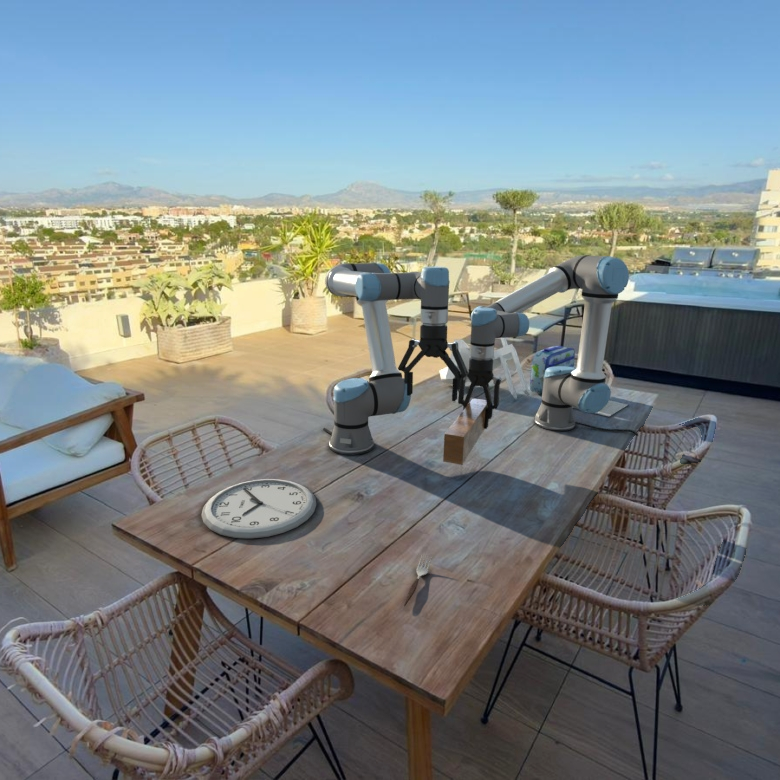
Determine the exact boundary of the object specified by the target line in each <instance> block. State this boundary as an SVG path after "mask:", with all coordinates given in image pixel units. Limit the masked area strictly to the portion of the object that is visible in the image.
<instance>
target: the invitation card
mask: <svg viewBox="0 0 780 780" xmlns="http://www.w3.org/2000/svg"><path fill="white" fill-rule="evenodd" d="M628 406H629V404H627V403H623V402H618V401H614V400H610V399H609V401H608V403H607V404H606V406H605V407H603V409H602V410H600V411H599V412H596V413H595V414H596V415H600V416H604V417H608V418H609V417H611V416H613V415H614V414H616V413H617V412H619V411H621V410H623V409H624V408H626V407H628ZM575 410H578V409H577V408H575Z"/></svg>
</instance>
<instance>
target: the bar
mask: <svg viewBox="0 0 780 780" xmlns="http://www.w3.org/2000/svg"><path fill="white" fill-rule="evenodd" d="M487 407H488V406H487V402H486V399H481V398H472V399H470V401H469V403H468V405H467V406H466V408H465V409H464V410H463V409H462V411H461V413H460V414H459V415H458V416H457V418H455V420H454V422H453V423H452V424H451V425H450V426H449V428H448V429H447V430H446V431H445V432H444V437H443V456H442V462H443V463H444V462H445V463H448V464H449V463H450V464H456V465H460V466H463V465H464V463H465V461H466V460H467V458H468V456H469V455H470V454H471V452H472V451H473V449H474V447H475V445H476V444H477V442H478V441H479V440H480V437H481V436H482V434H483V432H484V431H485V429H484V424H485V411H486V409H487Z"/></svg>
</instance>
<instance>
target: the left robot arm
mask: <svg viewBox="0 0 780 780" xmlns="http://www.w3.org/2000/svg"><path fill="white" fill-rule="evenodd" d="M450 283H451V282H450V271H449V268H447V267H446V266H424V267H423V268H422V269H421V271H409V272H391V270H390V268H389V267H388V266H387V265H386V264H384V263H380V262H373V261H372V262H351V263H350V262H349V263H348V262H347V263H346V262H345V263H339V264H336V265H334V266H332V267H331V268H330V269H329V270H328V271H327V273H326V274H325V277H324V284H325V287H326V289H327V290H328V292H329V293H330V294H331V295H334V296H337V297H340V298H355V299H356V304H357V305H358V306H360V307H361V309H362V317H363V323H364V330H365V335H366V342H367V348H368V354H369V355H368V356H369V360H370V361H369V362H370V366H371V374H370V376H369V377H368V380H367V379H366V378H363V377H358V378H356V377H352V378H347V379H344V380H341V381H339V382H338V383H336V385H334V387H333V398H332V399H333V421H334V422H333V424H334V425H333V429H332V431H330V430H329V429H328V428H326V427H323V428H322V430H323V431H324V432H325V433H327V434H329V435H331V437H330V438H329V442H328V447H329V449H330V451H332V452H333V453H335V454H339V455H342V456H343V455H344V456H356V455H362V454H367V453H369V452H370V451H372V450H373V448H374V438H373V436H372V431H371V429H370V427H369V418H370V417H377V416H384V415H391V414H392V415H394V414H397V413H398V414H399V413H403V412H405V411H406V410H407V409H408V408H409V406H410V403H411V397H412V395H413V392H414V391H413V390H414V389H413V388H414V372H413V371H412V370H413V368H414V367H415V366H417V364H418V363H419V362H420V361H421V360H422V358H424V356H425V357H427V358H431V357H432V358H435V359H438V358H440V359H441V361H443V362H444V364H445V365H446V367H448V368H449V369H450V370H451V372H452V373H453V374H454V376H455V377H454V378H453V384H452V393H451V401H452V402H456V401H457V400H458V392H459V389H460V388H461V379H462V377H466V376H467V375H468V371H467V368H466V366H465V364H464V361H463V359H462V357H461V355H460V352H459V350H458V343H457V342H455V343H454V342H448V325H447V324H448V322H449V297H450V296H449V295H450ZM401 300H403V301H404V300H420V323H421V324H420V325H419V333H420V334H419V340H416V338H412V339H410V340H409V341H408V347H407V349H406V351H405V353H404V355H403V358H402V359H401V361H400V363H399V365H398V367H397V364H396V358H395V352H394V344H393V339H392V334H391V333H392V332H391V327H390V321H389V320H390V319H389V316H388V308H387V303H388V301H401ZM417 347H419V349H420V351H419V353H417V355H416V356H415V357H414V358H413V360H411V362H410V363H409V360H410V358H411V356H412V355H413V353H414V350H416V348H417ZM448 349H449V351H450V352H452V353H453V356H454V358H455V360H456V363H457V365H458V367H459V369H458V368H457V367H456V365H455V364H454V363H453V361H452V360H451V359H450V357H451V356H449V353H448V352H447V350H448ZM407 364H408V365H407ZM459 370H460V371H459ZM402 373H403V374H402Z"/></svg>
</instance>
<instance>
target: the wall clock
mask: <svg viewBox="0 0 780 780" xmlns="http://www.w3.org/2000/svg"><path fill="white" fill-rule="evenodd" d="M316 508H317V499H316V496H315V495H314V493H313V492H312V491H311V490H310V489H308V488H307V487H305V486H304V485H302V484H299V483H297V482H294V481H292V480H291V481H290V480H285V479H277V478H264V479H263V478H262V479H253V480H248V481H242V482H239V483H236V484H233V485H230V486H228V487H226V488H223V489H222V490H220V491H218V492H217V493H216V494H214V495H213V496H212V497H210V498H209V499H208V500H207V501H206V503H205V504H204V506H203V507H202V511H201V520H202V522H203V524H204V525H205V526H206V527H207V529H209V530H210V531H212V532H214V533H216V534H218V535H221V536H225V537H230V538H233V539H260V538H269V537H272V536H277V535H280V534H283V533H286V532H289V531H292V530H293V529H296V528H298V527H300V526H301V525H302V524H304V523H306V522H307V521H308V520H309V519H310V518H311V517H312V515H313V514H314V513H315V510H316Z"/></svg>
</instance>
